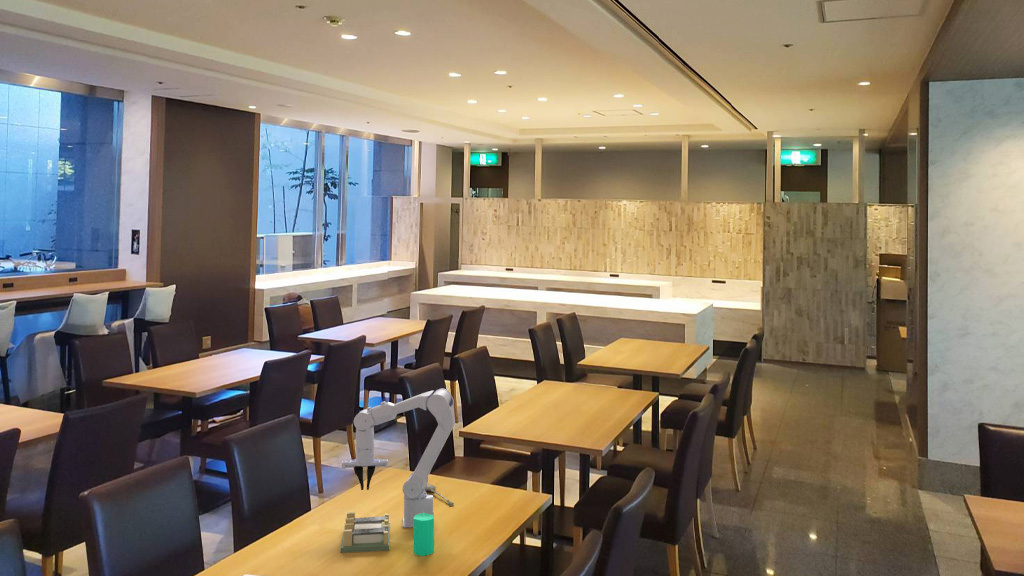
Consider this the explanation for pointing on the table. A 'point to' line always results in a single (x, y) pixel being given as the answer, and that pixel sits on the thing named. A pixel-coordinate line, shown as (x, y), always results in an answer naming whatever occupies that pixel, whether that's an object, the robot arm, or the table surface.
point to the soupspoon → (432, 488)
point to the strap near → (369, 531)
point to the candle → (423, 534)
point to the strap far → (370, 519)
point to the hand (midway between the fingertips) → (365, 488)
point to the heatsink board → (367, 545)
